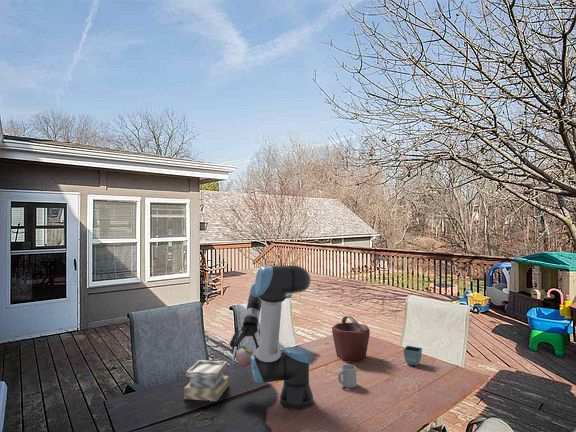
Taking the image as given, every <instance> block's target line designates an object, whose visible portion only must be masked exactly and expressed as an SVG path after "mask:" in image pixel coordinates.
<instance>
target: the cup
mask: <svg viewBox="0 0 576 432" xmlns="http://www.w3.org/2000/svg"><path fill="white" fill-rule="evenodd" d="M337 381H338V383H339V384H340V385H342V386H343V387H344V388H347V389H353V387H354V388H356V386H357V367H356V366H355V365H354V364H349V363H347V364H343V365H341V370H339V371H338V373H337Z"/></svg>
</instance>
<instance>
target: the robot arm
mask: <svg viewBox="0 0 576 432" xmlns="http://www.w3.org/2000/svg"><path fill="white" fill-rule="evenodd" d="M255 275H256V276H255V280H254V282H253V283H252V285H251V287H250V290H249V295H248V299H247V300H248V301H247V306H246V310H245V313H244V318H243V323H242V326H241V327H238V326H236V327H235V331H234V334H233V335H232V338H231V340H230V342H229V346H230V348H231V361H232V363H235V362H236V352H237V351H238V347H239V345H240V344H241V343H242V341H243V339H245V337H252V339H253V342H254V345H255V346H254V348H253V355H252V356H251V364H250V366H251V375H252V379H253V381H254V382H255V383H257V384H266V383H272V382H278V381H279V382H280V381H283V385H282V388H281V392H280V394H279V395H280V396H279V404H280V405H281V406H283V407H284V408H287V409H289V410H302V409H307V408H309V407H311V406H312V405H313V403H314V396H313V392H312V389H311V385H310V357H309V353H308V351H307V350H305V349H304V348H302V347H296V346H286V347H285V348H283V350H282V351H281V350H280V349H279V339H280V329H281V319H282V318H281V316H282V305H283V304H282V303H283V302H284V301H286V300H287V299H291V298H292V297H293V294H297V293H303V292H305V291H306V290H308V289H309V287H310V286H311V285H310V284H311V275H310V273H309V272H308V271H307V269H305V268H303V267H301V266H298V265H268V266H267V265H266V266H261V267H259V269H258V270H257V272H256V274H255ZM259 320H260V321H259ZM259 322H260V323H259ZM258 326H259V327H258ZM257 333H258V336H259V337H258V340H257V338H256V335H255V334H257ZM258 341H259V342H258Z"/></svg>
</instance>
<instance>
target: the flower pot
mask: <svg viewBox="0 0 576 432" xmlns="http://www.w3.org/2000/svg"><path fill="white" fill-rule="evenodd" d="M422 351H423V348H422V347H418V346H413V345H412V346H411V345H406V346H405V347H404V348H403V355H404V356H403V357H404V360H405V363H406V364H407V365H408V364H409V366H413V365H415V366H414V367H417V366H418V365H419V364H420V362H421V359H422V355H423V353H422Z"/></svg>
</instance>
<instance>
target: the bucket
mask: <svg viewBox="0 0 576 432" xmlns="http://www.w3.org/2000/svg"><path fill="white" fill-rule="evenodd" d="M348 319H349V320H350V321H351V322H347V320H348ZM331 327H332V328H331V332H332V338H333V343H334V344H333V345H334V347H335V348H334V349H335V353H336V358H337V357H339V358H340V359H339V358H338V359H339V360H341V359H342V360H343V362H344V361H350V362H349V363H355V362H357V363H360V362H363V361H365V360H366V356H367V351H368V346H369V341H370V335H371V333H370V330H371V329H370V327H368V326H367V324H362V323H359V322H358V321H357V319H356V318H354V317H353V316H351V315H344V316H343V317H342V319H341V322H339V323H336V324H335V325H333V326H331ZM364 359H365V360H364ZM342 360H341V361H342ZM362 360H363V361H362ZM359 361H360V362H359Z"/></svg>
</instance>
